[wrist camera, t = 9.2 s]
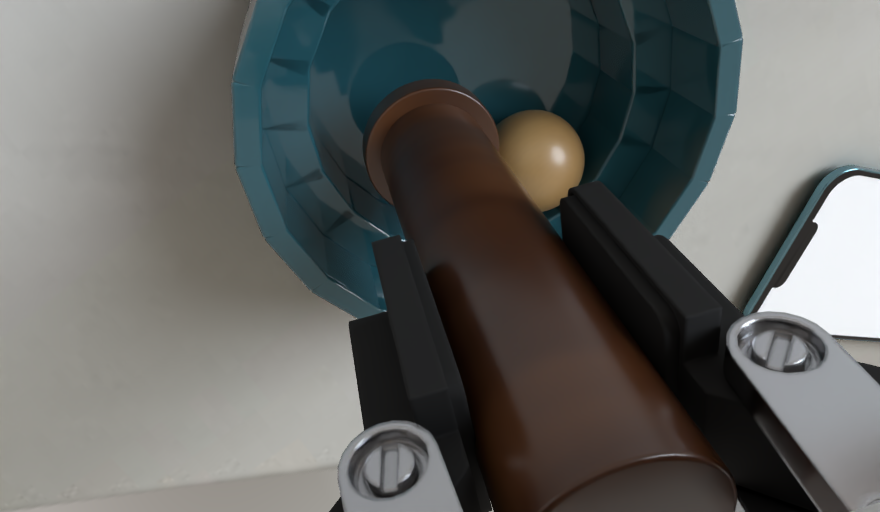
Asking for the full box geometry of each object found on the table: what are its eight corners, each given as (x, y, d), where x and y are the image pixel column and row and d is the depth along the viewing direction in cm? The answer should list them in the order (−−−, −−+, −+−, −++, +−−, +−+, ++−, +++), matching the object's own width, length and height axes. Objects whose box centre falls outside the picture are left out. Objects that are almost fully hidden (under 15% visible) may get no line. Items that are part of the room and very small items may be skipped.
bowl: (315, 286, 22) (323, 387, 18) (169, -108, 15) (129, -90, 11) (641, 196, 23) (722, 274, 19) (643, -212, 16) (769, -233, 12)
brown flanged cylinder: (379, 216, 18) (501, 656, 8) (346, 97, 16) (455, 492, 6) (499, 184, 18) (756, 572, 9) (482, 62, 16) (791, 389, 6)
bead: (467, 189, 20) (514, 248, 18) (459, 111, 18) (512, 168, 16) (547, 156, 21) (601, 210, 19) (549, 77, 19) (610, 128, 17)
